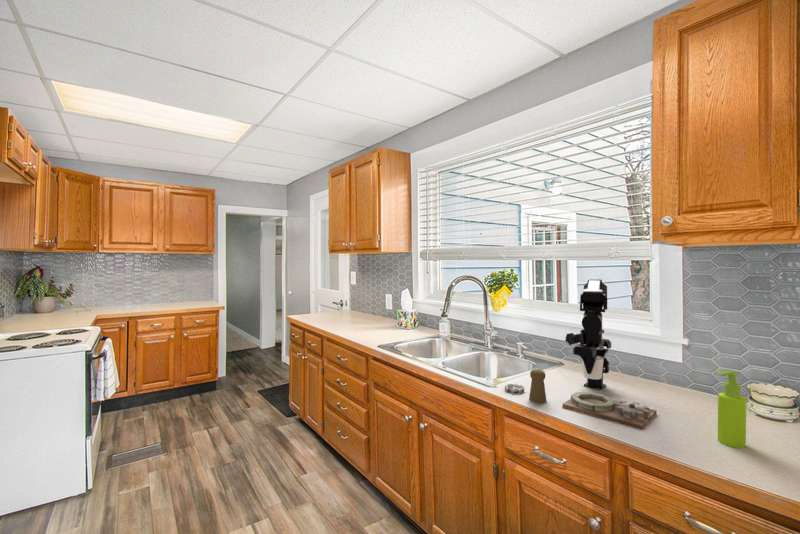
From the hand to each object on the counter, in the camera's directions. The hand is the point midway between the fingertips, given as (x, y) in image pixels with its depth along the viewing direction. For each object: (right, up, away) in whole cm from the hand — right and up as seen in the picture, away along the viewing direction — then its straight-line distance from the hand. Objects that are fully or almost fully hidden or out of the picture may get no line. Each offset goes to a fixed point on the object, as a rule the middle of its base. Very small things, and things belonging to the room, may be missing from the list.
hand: (592, 371), depth 131 cm
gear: (-22, -12, +16) cm, 30 cm away
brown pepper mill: (-17, -12, +6) cm, 22 cm away
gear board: (+4, -12, -3) cm, 13 cm away
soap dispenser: (+25, -13, -26) cm, 38 cm away
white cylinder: (0, -2, 0) cm, 2 cm away
